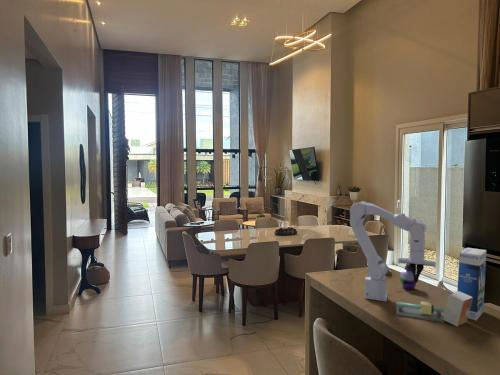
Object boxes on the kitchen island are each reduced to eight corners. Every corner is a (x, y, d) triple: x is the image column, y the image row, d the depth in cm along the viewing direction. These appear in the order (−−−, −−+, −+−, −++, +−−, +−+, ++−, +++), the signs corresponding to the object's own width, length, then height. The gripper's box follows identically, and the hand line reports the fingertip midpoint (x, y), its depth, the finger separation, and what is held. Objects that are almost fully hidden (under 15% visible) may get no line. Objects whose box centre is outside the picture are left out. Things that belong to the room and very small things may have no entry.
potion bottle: (395, 287, 178) (396, 263, 178) (407, 284, 182) (408, 261, 182) (410, 292, 171) (411, 267, 170) (422, 290, 175) (423, 265, 174)
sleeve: (421, 313, 143) (421, 304, 143) (420, 310, 146) (420, 301, 146) (431, 314, 142) (431, 305, 142) (430, 311, 145) (430, 302, 145)
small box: (457, 327, 134) (463, 301, 132) (442, 319, 139) (448, 294, 137) (467, 322, 139) (473, 297, 137) (452, 314, 143) (458, 290, 141)
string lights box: (476, 321, 140) (480, 255, 138) (454, 315, 145) (458, 252, 143) (483, 311, 150) (487, 249, 148) (462, 306, 155) (466, 246, 153)
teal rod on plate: (396, 315, 144) (396, 303, 144) (395, 308, 152) (396, 296, 151) (444, 322, 138) (445, 310, 138) (441, 314, 146) (442, 302, 145)
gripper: (398, 250, 153) (397, 281, 153) (437, 253, 147) (435, 286, 148) (398, 246, 159) (397, 277, 160) (435, 250, 154) (434, 281, 155)
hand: (415, 281), depth 154 cm, fingers closed
